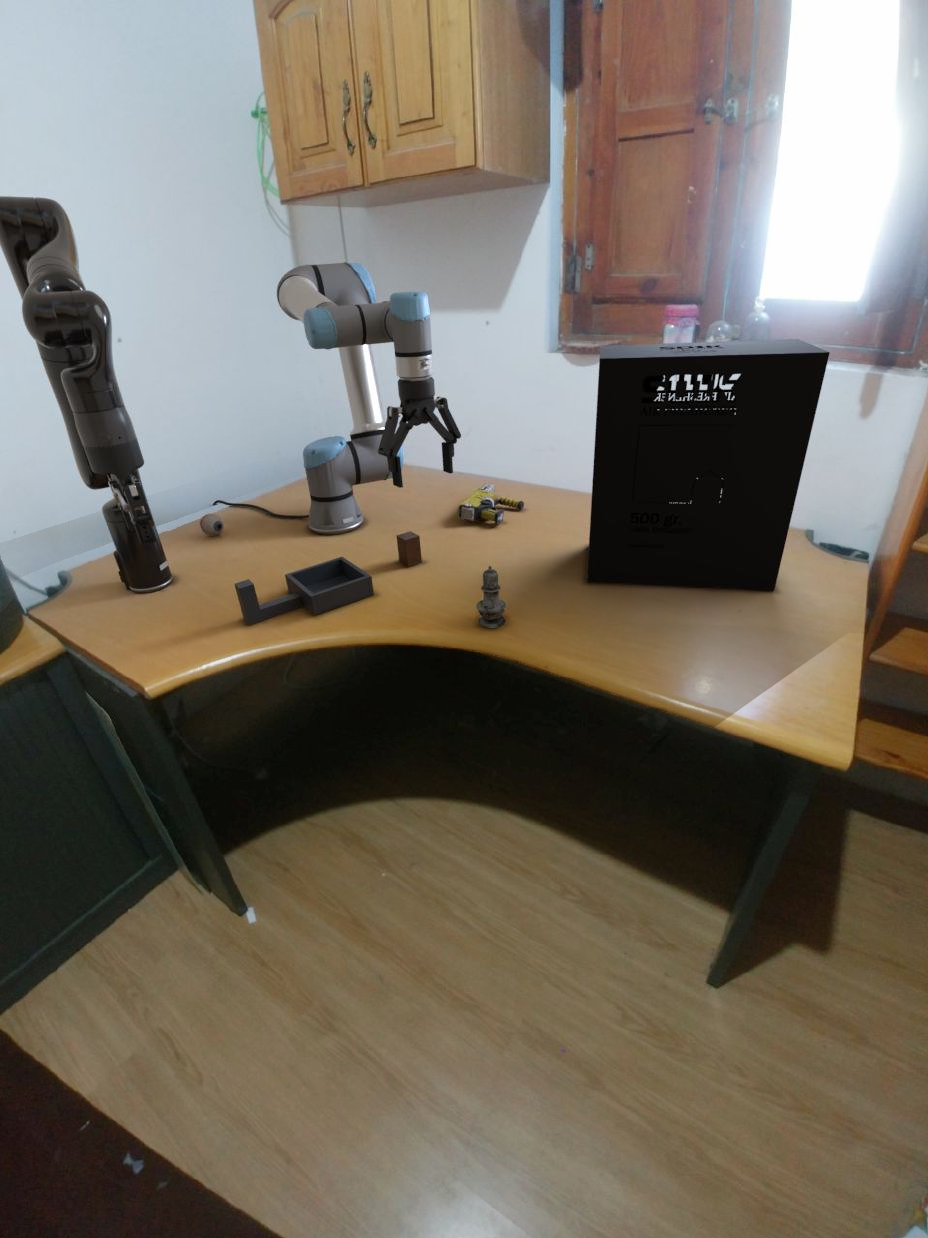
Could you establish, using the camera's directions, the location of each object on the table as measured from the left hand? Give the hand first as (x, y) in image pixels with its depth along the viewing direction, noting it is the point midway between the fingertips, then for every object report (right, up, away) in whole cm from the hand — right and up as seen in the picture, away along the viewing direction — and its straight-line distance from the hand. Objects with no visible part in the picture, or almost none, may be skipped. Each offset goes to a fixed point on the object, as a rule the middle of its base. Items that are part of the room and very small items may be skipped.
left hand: (142, 536), depth 101 cm
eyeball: (-15, +9, +67) cm, 69 cm away
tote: (+20, -10, +29) cm, 37 cm away
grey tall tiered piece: (+59, -14, +18) cm, 64 cm away
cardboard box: (+101, -2, +35) cm, 107 cm away
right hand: (+45, +17, +33) cm, 58 cm away
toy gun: (+63, +17, +72) cm, 97 cm away
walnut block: (+41, 0, +44) cm, 60 cm away
